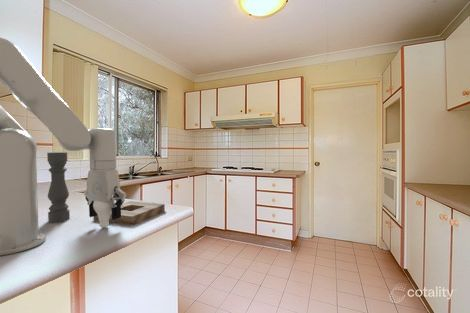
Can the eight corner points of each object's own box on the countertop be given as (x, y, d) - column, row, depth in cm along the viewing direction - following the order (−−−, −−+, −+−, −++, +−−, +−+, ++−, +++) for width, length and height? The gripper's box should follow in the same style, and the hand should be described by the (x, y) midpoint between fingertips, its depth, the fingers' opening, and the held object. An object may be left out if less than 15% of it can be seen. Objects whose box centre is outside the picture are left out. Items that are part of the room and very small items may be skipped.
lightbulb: (98, 232, 69) (97, 197, 69) (90, 228, 73) (89, 195, 73) (118, 227, 74) (117, 194, 74) (110, 223, 78) (109, 192, 77)
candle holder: (57, 223, 78) (55, 152, 77) (43, 222, 79) (41, 152, 78) (73, 218, 84) (72, 152, 83) (60, 217, 85) (58, 152, 84)
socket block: (132, 225, 76) (132, 216, 76) (93, 219, 82) (93, 211, 82) (164, 211, 93) (164, 204, 93) (130, 207, 99) (130, 201, 99)
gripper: (73, 166, 72) (75, 218, 73) (114, 167, 67) (116, 223, 67) (94, 164, 79) (95, 211, 80) (133, 165, 74) (134, 216, 74)
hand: (105, 217), depth 74 cm, fingers open, 9 cm apart
